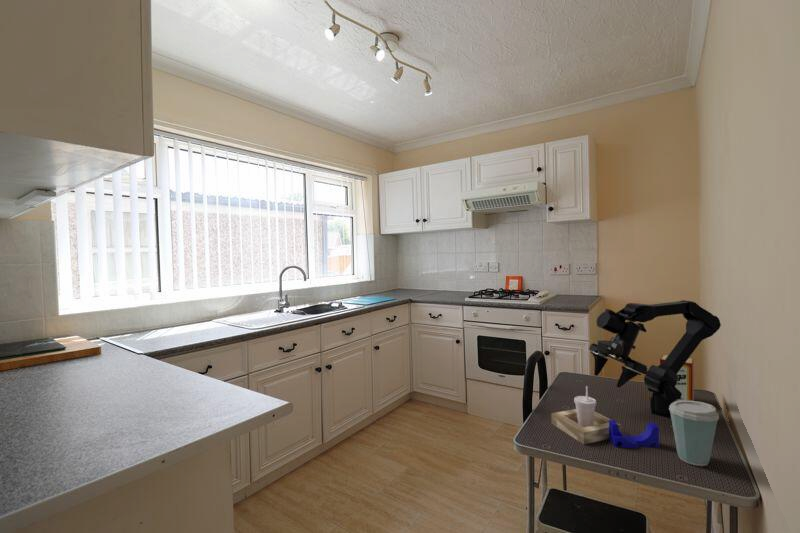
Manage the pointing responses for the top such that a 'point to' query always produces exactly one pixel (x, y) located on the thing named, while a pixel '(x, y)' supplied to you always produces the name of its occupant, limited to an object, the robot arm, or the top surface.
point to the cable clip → (645, 439)
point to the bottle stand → (582, 434)
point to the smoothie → (585, 409)
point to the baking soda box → (684, 379)
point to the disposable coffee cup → (694, 430)
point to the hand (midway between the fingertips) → (606, 381)
